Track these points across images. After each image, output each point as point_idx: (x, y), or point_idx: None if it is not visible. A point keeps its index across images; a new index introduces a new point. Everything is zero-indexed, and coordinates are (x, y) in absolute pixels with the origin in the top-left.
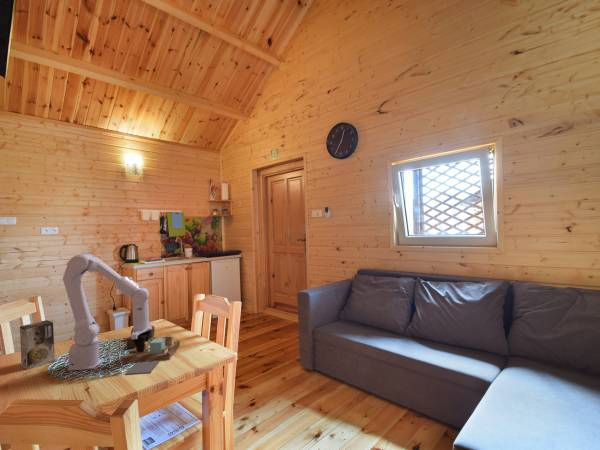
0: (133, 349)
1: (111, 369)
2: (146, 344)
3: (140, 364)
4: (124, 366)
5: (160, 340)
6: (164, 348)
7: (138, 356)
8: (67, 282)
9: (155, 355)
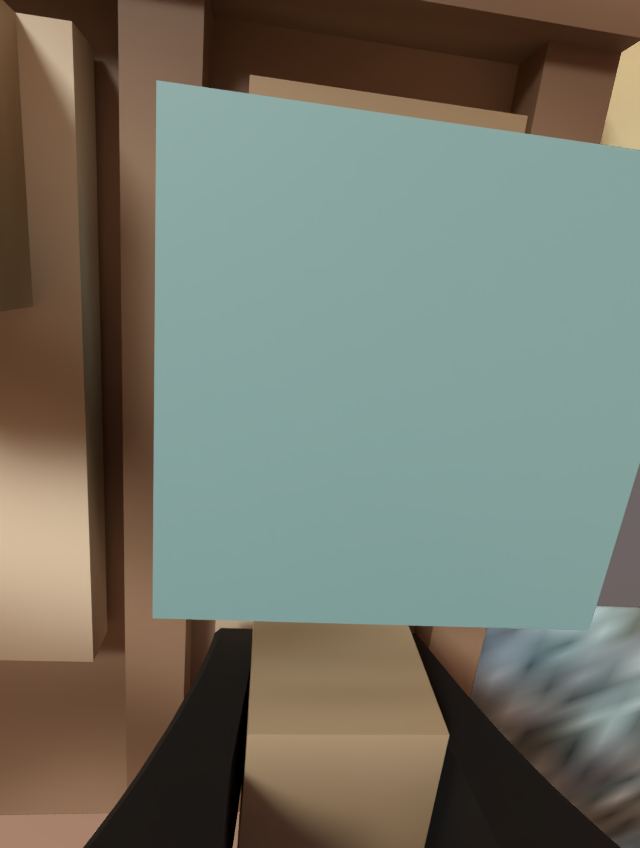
0: (16, 813)
1: (579, 799)
2: (384, 693)
3: (625, 517)
4: (551, 699)
5: (434, 272)
6: (478, 125)
7: (478, 638)
8: None
9: None
